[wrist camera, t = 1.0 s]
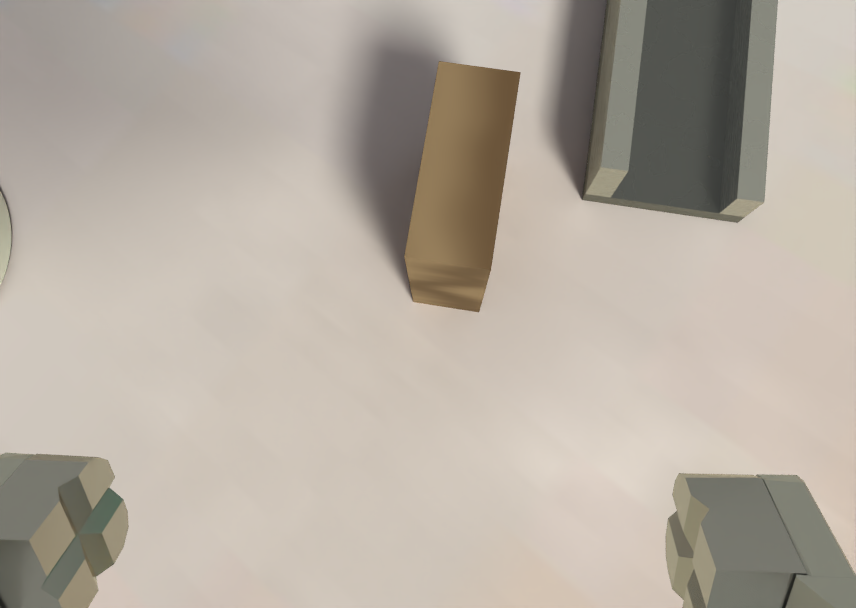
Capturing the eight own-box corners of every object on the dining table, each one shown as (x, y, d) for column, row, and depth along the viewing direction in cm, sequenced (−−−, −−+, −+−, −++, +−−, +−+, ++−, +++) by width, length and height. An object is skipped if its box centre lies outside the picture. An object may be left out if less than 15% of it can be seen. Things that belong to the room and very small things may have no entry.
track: (582, 199, 42) (600, 167, 37) (616, -77, 46) (637, -139, 41) (737, 222, 41) (777, 192, 36) (758, -59, 45) (796, -120, 40)
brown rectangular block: (413, 302, 41) (404, 256, 31) (439, 149, 43) (439, 61, 33) (479, 312, 41) (490, 269, 31) (502, 158, 43) (520, 72, 33)
